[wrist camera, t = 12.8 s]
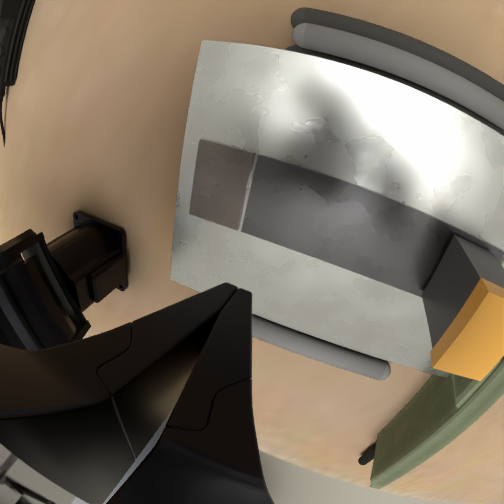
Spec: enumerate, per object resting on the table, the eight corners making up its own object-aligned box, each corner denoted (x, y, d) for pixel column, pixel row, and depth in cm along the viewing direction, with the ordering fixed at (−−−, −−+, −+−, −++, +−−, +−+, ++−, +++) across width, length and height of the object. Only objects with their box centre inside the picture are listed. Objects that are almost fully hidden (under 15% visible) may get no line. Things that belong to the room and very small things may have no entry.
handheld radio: (508, 304, 15) (376, 455, 28) (478, 293, 16) (353, 450, 29) (535, 367, 10) (367, 500, 23) (503, 359, 11) (341, 496, 23)
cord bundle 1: (282, 71, 14) (268, 64, 12) (297, 10, 12) (285, -7, 10) (500, 157, 12) (522, 167, 9) (516, 98, 10) (539, 99, 7)
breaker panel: (183, 266, 23) (168, 281, 21) (218, 45, 14) (200, 39, 13) (460, 364, 18) (464, 385, 17) (564, 187, 10) (581, 198, 8)
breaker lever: (419, 295, 15) (432, 367, 10) (453, 232, 13) (488, 291, 8) (460, 311, 14) (480, 381, 10) (495, 253, 12) (535, 313, 8)
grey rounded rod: (227, 314, 24) (212, 337, 21) (235, 275, 21) (220, 297, 19) (383, 370, 21) (382, 397, 19) (408, 337, 19) (411, 365, 17)
